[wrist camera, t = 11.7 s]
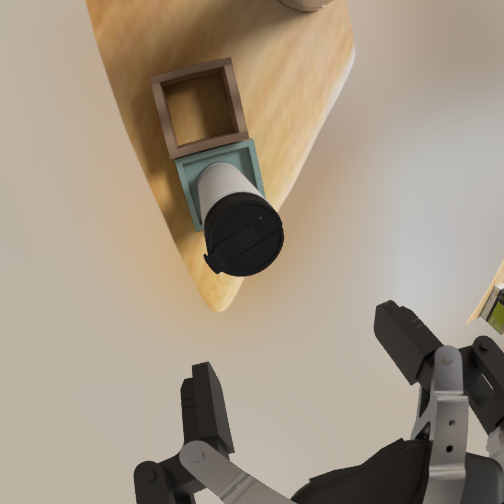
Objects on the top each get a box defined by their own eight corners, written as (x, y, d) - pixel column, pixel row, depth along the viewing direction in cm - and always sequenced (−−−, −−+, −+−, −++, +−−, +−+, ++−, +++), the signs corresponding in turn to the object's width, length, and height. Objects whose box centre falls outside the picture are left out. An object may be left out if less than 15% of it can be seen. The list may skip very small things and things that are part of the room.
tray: (175, 157, 35) (174, 160, 33) (249, 138, 36) (253, 139, 34) (195, 225, 41) (196, 232, 38) (263, 206, 42) (268, 211, 39)
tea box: (489, 311, 83) (509, 330, 70) (479, 315, 81) (500, 336, 68) (503, 281, 76) (525, 300, 63) (494, 284, 74) (518, 304, 61)
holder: (154, 83, 30) (149, 77, 26) (225, 65, 31) (230, 57, 26) (173, 154, 35) (170, 159, 31) (242, 136, 36) (249, 138, 32)
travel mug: (186, 178, 36) (184, 236, 19) (228, 152, 36) (265, 186, 19) (210, 213, 39) (230, 295, 22) (249, 189, 39) (301, 253, 22)
